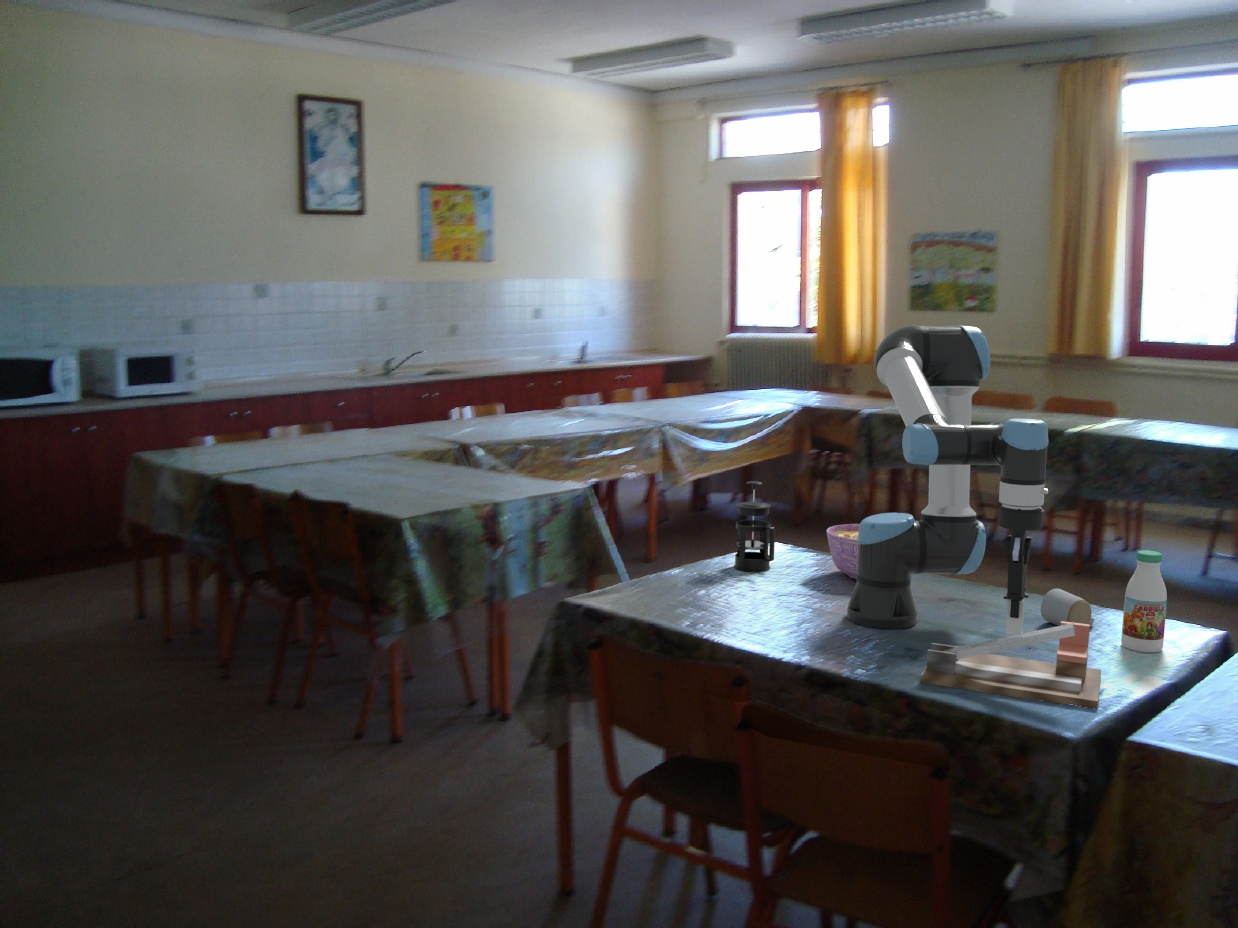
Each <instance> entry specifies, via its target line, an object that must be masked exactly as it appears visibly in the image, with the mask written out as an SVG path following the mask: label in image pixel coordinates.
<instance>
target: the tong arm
mask: <svg viewBox="0 0 1238 928" xmlns="http://www.w3.org/2000/svg"><path fill="white" fill-rule="evenodd" d="M1075 633H1076V630H1075V627H1074V624H1073V623H1071V624H1066V625H1061V626H1058V625H1056V626H1052V627H1048V628H1043V629H1039V630H1038V629H1037V630H1033V631H1028V632H1022V636H1021V635H1013V634H1012V635H1009V636H1005V637H1000V638H995V639H990V640H985V641H981V642H976V643H975V642H974V643H971V644H967V645H966V644H965V645H960V646H959V647H955V648H951V649H946V650H942V651H944V652H951V653H956V659H955V660H957V659H962V658H967V657H972V656H977V655H982V654H990V653H991V654H992V653H996V652H1001V651H1006V650H1011V649H1015V648H1021V647H1025V646H1026V647H1027V646H1030V645H1035V644H1036V645H1037V644H1040V643H1044V642H1046V643H1047V642H1050V641H1055V640H1060V639H1061V638H1066V637H1071V636H1075Z"/></svg>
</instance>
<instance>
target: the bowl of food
mask: <svg viewBox="0 0 1238 928" xmlns="http://www.w3.org/2000/svg"><path fill="white" fill-rule="evenodd" d="M859 526H860V523H850V524H849V523H848V524H845V523H844V524H838V525H833V526H829V527H828V528H827V529H826V536H827V541H828V546H829V551H830V556H831V559H832V562H833V564H834V566H835V567H836V568H837V569H838V570H839V571H840V572H842V573H844V574H846V575H848V577H850V578H851V579H854V580H857V556H858V542H857V539H858V533H859Z"/></svg>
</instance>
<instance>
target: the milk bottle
mask: <svg viewBox="0 0 1238 928" xmlns="http://www.w3.org/2000/svg"><path fill="white" fill-rule="evenodd" d="M1162 560H1163V554H1162V553H1161V552H1159V551H1154V550H1147V549H1143V550H1138V551H1137V552H1136V564H1137V565H1136V568H1135V570H1134V573H1133V575H1132V576H1131V577H1130V579H1129V581H1128V583H1127V585H1126V588H1125V593H1124V594H1125V595H1124V602H1123V604H1124V605H1123V614H1122V627H1121V628H1122V629H1121V641H1120V643H1121V646H1123V648H1125V649H1127V650H1130V651H1132V652H1133V651H1134V652H1138V653H1148V654H1150V653H1154V654H1155V653H1159V652H1162V650H1163V647H1164V640H1165V630H1166V629H1165V626H1166V625H1165V624H1166V616H1167V615H1166V614H1167V604H1168V603H1167V602H1168V601H1167V599H1168V596H1167V595H1168V594H1167V593H1168V592H1167V588H1166V584H1165V582H1164V579H1163V577H1162V573H1161V569H1160V568H1161V567H1160V566H1161V565H1162Z"/></svg>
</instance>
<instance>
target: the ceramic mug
mask: <svg viewBox="0 0 1238 928" xmlns="http://www.w3.org/2000/svg"><path fill="white" fill-rule="evenodd" d="M1040 603H1041V604H1040V614H1041V617H1042V619H1043V620H1044V621H1045V622H1047V623H1049V624H1053V625H1055V626H1061V621H1064V622H1073V623H1081V624H1089V625H1090V626H1092V625H1093V624H1094V622H1095V618H1093V617H1092V607H1091V605H1090V603H1089V602H1088V601H1087V600H1085V599H1084V598H1082V597H1080V596H1077V595H1075V594H1072V593H1070V592H1068V591H1066V590H1063V589H1061V588H1052V589H1051V590H1049V591H1048V592H1046V593H1045V595H1044V596H1043V598H1042V600H1041V602H1040Z"/></svg>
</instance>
